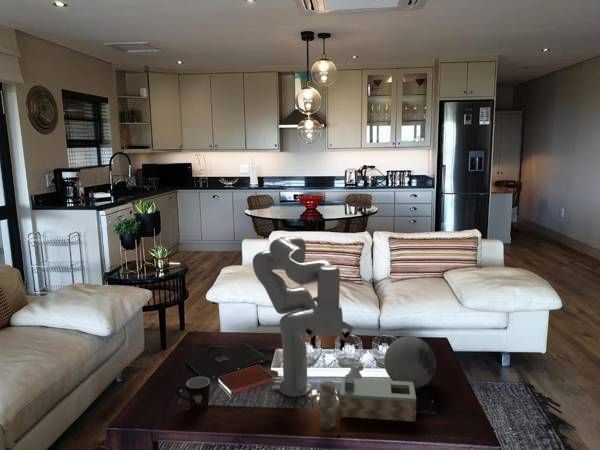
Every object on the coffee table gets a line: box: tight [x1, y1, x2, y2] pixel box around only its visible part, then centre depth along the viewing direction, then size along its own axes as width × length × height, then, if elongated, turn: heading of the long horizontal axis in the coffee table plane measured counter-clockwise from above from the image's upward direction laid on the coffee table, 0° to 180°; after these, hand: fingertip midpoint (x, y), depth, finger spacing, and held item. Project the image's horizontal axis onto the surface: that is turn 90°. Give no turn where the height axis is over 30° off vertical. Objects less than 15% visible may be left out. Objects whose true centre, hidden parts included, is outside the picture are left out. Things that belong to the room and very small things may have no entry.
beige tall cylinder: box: [319, 380, 336, 430], centre depth 163 cm, size 5×5×15 cm
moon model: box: [383, 335, 437, 389], centre depth 189 cm, size 20×20×20 cm
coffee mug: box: [176, 376, 211, 412], centre depth 177 cm, size 12×9×10 cm
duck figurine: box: [347, 360, 364, 379], centre depth 190 cm, size 12×8×11 cm
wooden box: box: [339, 387, 417, 422], centre depth 171 cm, size 26×12×8 cm, turn 82°
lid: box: [339, 374, 417, 403], centre depth 170 cm, size 26×12×4 cm, turn 82°
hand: (327, 348), depth 166 cm, fingers open, 9 cm apart
